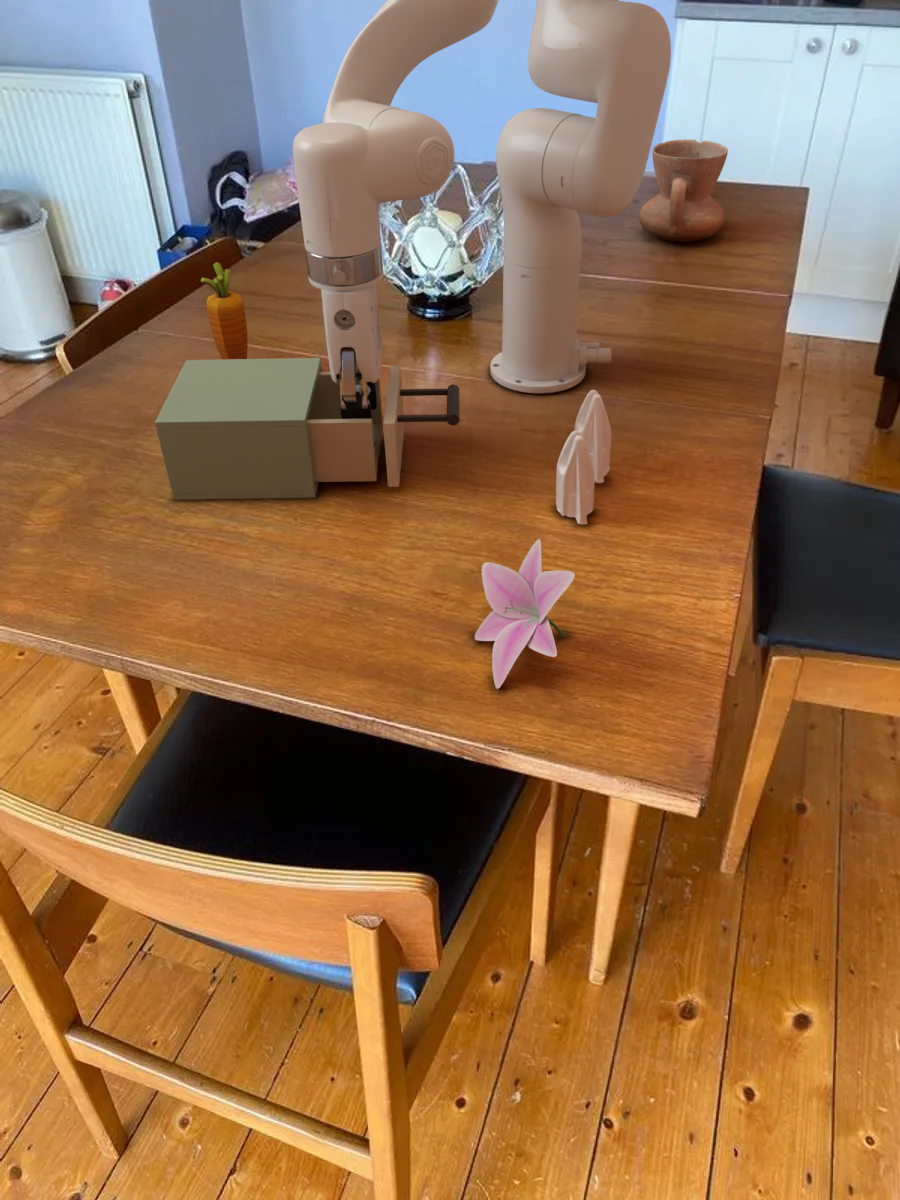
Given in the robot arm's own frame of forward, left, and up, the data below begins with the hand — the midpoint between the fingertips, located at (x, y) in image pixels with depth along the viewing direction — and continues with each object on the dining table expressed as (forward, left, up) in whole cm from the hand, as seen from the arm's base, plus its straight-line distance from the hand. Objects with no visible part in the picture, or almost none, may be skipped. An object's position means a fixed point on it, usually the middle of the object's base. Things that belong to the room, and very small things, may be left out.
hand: (360, 422), depth 105 cm
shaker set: (-24, +7, -5) cm, 26 cm away
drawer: (0, 0, -4) cm, 4 cm away
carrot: (+19, -22, -5) cm, 29 cm away
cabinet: (+13, 0, -5) cm, 14 cm away
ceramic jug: (-49, -74, -5) cm, 89 cm away
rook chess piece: (0, 0, -3) cm, 3 cm away
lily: (-16, +32, -5) cm, 36 cm away
